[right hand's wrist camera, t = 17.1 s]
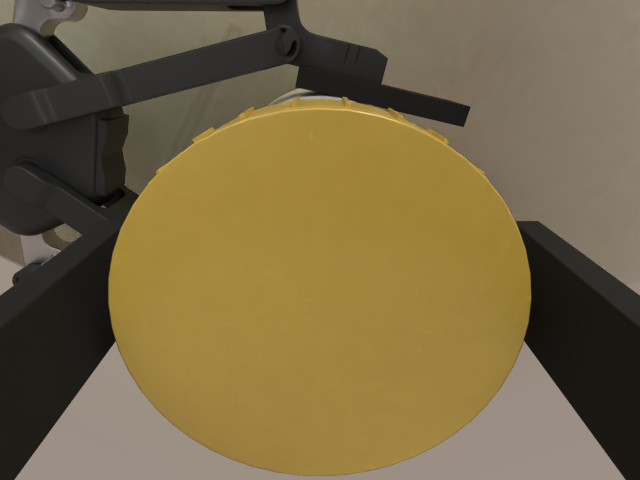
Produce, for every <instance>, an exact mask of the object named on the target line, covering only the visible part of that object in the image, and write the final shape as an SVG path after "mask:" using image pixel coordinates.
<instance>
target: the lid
mask: <svg viewBox="0 0 640 480" xmlns="http://www.w3.org/2000/svg"><path fill="white" fill-rule="evenodd" d="M192 140H193V142H194V144H192V145H191V146H190V147H188V148H187V149H186V150H184V151H183V152H182V153H180V154H179V155H178V156H176V157H175V158H174V159H172V160H171V161H170V162H168V163H167V164H165V165H164V166H162V167H161V168H159V169H158V170H157V171H156V172H155V173H156V174H157V175H156V176H155V177H154V178H153V179H152V180H151V181H150V182H149V183H148V185H147V186H146V187H145V189H144V190H143V192H142V193H141V194H140V196H139V197H138V198H137V200H136V201H135V203H134V204H133V206H132V208H131V210H130V211H129V213H128V215H127V217H126V219H125V221H124V223H123V225H122V227H121V229H120V232H119V235H118V238H117V241H116V245H115V248H114V251H113V254H112V260H111V266H110V272H109V289H108V304H109V311H110V318H111V325H112V329H113V333H114V336H115V339H116V343H117V346H118V349H119V351H120V354H121V356H122V358H123V360H124V362H125V365H126V367H127V369H128V371H129V373H130V374H131V376H132V377H133V379H134V381H135V382H136V384H137V385H138V387H139V388H140V390H141V391H142V392H143V394H144V395H145V396H146V397H147V399H148V400H149V401H150V402H151V403H152V405H153V406H154V407H155V408H156V409H157V410H158V411H159V412H160V413H161V414H162V415H163V416H164V417H165V418H166V419H167V420H168V421H170V422H171V423H172V424H173V425H174V426H175V427H177V428H178V429H179V430H181V431H182V432H183V433H185V434H186V435H187V436H189V437H190V438H192V439H193V440H195V441H197V442H198V443H200V444H202V445H203V446H205V447H207V448H209V449H210V450H212V451H214V452H217V453H219V454H221V455H223V456H225V457H227V458H230V459H232V460H235V461H238V462H241V463H244V464H247V465H250V466H253V467H256V468H260V469H265V470H269V471H273V472H279V473H286V474H293V475H306V476H332V475H347V474H353V473H360V472H366V471H371V470H375V469H379V468H383V467H387V466H390V465H393V464H396V463H399V462H402V461H404V460H407V459H410V458H413V457H414V456H417V455H419V454H421V453H423V452H425V451H427V450H429V449H431V448H433V447H435V446H436V445H438V444H439V443H441V442H443V441H444V440H446V439H448V438H449V437H451V436H452V435H454V434H455V433H456V432H457V431H459V430H460V429H461V428H463V427H464V426H465V425H466V424H468V423H469V422H470V421H471V420H472V419H473V418H474V417H475V416H476V415H477V414H478V413H479V412H480V411H481V410H482V409H483V408H484V407H485V406H486V405H487V404H488V403H489V402H490V400H491V399H492V398H493V397H494V395H495V394H496V393H497V392H498V390H499V389H500V388H501V386H502V385H503V383H504V381H505V380H506V378H507V376H508V375H509V373H510V371H511V370H512V368H513V366H514V364H515V361H516V359H517V357H518V354H519V352H520V350H521V347H522V345H523V341H524V337H525V334H526V330H527V326H528V323H529V314H530V305H531V277H530V269H529V264H528V259H527V253H526V248H525V246H524V243H523V240H522V237H521V235H520V232H519V229H518V226H517V224H516V222H515V220H514V218H513V216H512V215H511V213H510V211H509V209H508V207H507V206H506V204H505V202H504V200H503V199H502V198H501V196H500V195H499V194H498V192H497V191H496V190H495V188H494V187H493V186H492V185H491V183H490V182H489V181H488V179H487V178H486V177H485V175H486V174H485V173H484V172H483V171H482V170H480V169H479V168H477V167H476V166H474V165H473V164H471V163H470V162H469V161H468V160H467V159H466V158H465V157H464V156H462V155H461V154H459V153H458V152H456V151H455V150H454V149H452V148H451V147H449V146H448V145H447V144H448V143H449V140H447V139H446V138H444V137H442V136H441V135H439V134H437V133H436V132H434V131H433V130H431V129H428V130H427V131H426V130H424V129H423V128H421V127H419V126H418V125H416V124H414V123H412V122H410V121H408V120H406V119H404V118H403V116H402V115H400V114H399V113H397V112H396V111H394V110H393V109H391V108H388V109H387V111H385V110H382V109H379V108H376V107H373V106H370V105H365V104H360V103H355V102H350V101H349V100H348V98H347V97H342V100H329V99H309V100H300V97H295V98H294V99H293V101H288V102H284V103H279V104H275V105H270V106H266V107H262V108H260V109H257V110H255V109H254V107H251V108H249V109H248V110H246V111H245V112H243V113H242V114H240V115H239V117H237V118H235V119H233V120H231V121H230V122H228V123H226V124H224V125H222V126H220V127H219V128H217V129H214V128H213V127H212V128H210V129H208V130H207V131H205V132H203V133H202V134H200V135H199V136H197V137H195V138H194V139H192Z"/></svg>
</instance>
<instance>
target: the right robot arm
mask: <svg viewBox="0 0 640 480" xmlns="http://www.w3.org/2000/svg"><path fill="white" fill-rule="evenodd" d="M515 222H516V224H517V226H518V229H519V232H520V235H521V237H522V240H523V243H524V246H525V248H526V253H527V259H528V264H529V269H530V277H531V305H530V314H529V323H528V326H527V330H526V334H525V337H524V341H525V343H526V344H527V345H528V347H529V348H530V349H531V351H532V352H533V353H534V355H535V356H536V358H537V359H538V360H539V362H540V363H541V364H542V366H543V367H544V369H545V370H546V371H547V373H548V374H549V375H550V377H551V378H552V379H553V381H554V382H555V384H556V385H557V386H558V388H559V389H560V390H561V392H562V393H563V395H564V396H565V397H566V399H567V400H568V401H569V403H570V404H571V405H572V407H573V408H574V410H575V411H576V412H577V414H578V415H579V416H580V418H581V419H582V421H583V422H584V423H585V425H586V426H587V427H588V429H589V430H590V431H591V433H592V434H593V436H594V437H595V438H596V440H597V441H598V442H599V444H600V445H601V447H602V448H603V449H604V451H605V452H606V453H607V455H608V456H609V457H610V459H611V460H612V462H613V463H614V464H615V466H616V467H617V468H618V470H619V471H620V473H621V474H622V475H623V477H624V478H625V479H626V480H640V295H638V294H637V293H635V292H634V291H633V290H631V289H630V288H629V287H627V286H626V285H625V284H623V283H622V282H620V281H619V280H618V279H616V278H615V277H614V276H612V275H611V274H609V273H608V272H607V271H605V270H604V269H603V268H601V267H600V266H599V265H597V264H596V263H594V262H593V261H592V260H590V259H589V258H588V257H586V256H585V255H584V254H582V253H581V252H579V251H578V250H577V249H575V248H574V247H573V246H571V245H570V244H569V243H567V242H566V241H564V240H563V239H562V238H560V237H559V236H558V235H556V234H555V233H554V232H552V231H551V230H549V229H548V228H547V227H545V226H544V225H543V224H541V223H540V222H539V221H515ZM123 223H124V221H101V222H100V223H99V224H97V225H96V226H95V227H93V228H92V229H91V230H89V231H88V232H86V233H85V234H84V235H82V236H81V237H80V238H78V239H77V240H76V241H74V242H73V243H71V244H70V245H69V246H67V247H66V248H65V249H63V250H62V251H61V252H59V253H58V254H56V255H55V256H54V257H52V258H51V259H50V260H48V261H47V262H46V263H44V264H43V265H41V266H40V267H39V268H37V269H36V270H35V271H33V272H32V273H30V274H29V275H28V276H26V277H25V278H24V279H22V280H21V281H20V282H18V283H17V284H15V285H14V286H13V287H11V288H10V289H9V290H7V291H6V292H5V293H3V294H2V295H1V296H0V480H14V479H15V478H16V477H17V475H18V474H19V473H20V471H21V470H22V468H23V467H24V466H25V464H26V463H27V462H28V460H29V459H30V457H31V456H32V455H33V453H34V452H35V451H36V449H37V448H38V446H39V445H40V444H41V442H42V441H43V440H44V438H45V437H46V436H47V434H48V433H49V431H50V430H51V429H52V427H53V426H54V425H55V423H56V422H57V420H58V419H59V418H60V416H61V415H62V414H63V412H64V411H65V410H66V408H67V407H68V405H69V404H70V403H71V401H72V400H73V399H74V397H75V396H76V395H77V393H78V392H79V390H80V389H81V388H82V386H83V385H84V384H85V382H86V381H87V379H88V378H89V377H90V375H91V374H92V373H93V371H94V370H95V369H96V367H97V366H98V364H99V363H100V362H101V360H102V359H103V358H104V356H105V355H106V353H107V352H108V351H109V349H110V348H111V347H112V345H113V344H114V343H115V341H116V339H115V336H114V333H113V329H112V325H111V318H110V311H109V304H108V289H109V272H110V266H111V260H112V254H113V251H114V248H115V245H116V241H117V238H118V235H119V232H120V229H121V227H122V225H123Z"/></svg>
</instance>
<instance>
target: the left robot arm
mask: <svg viewBox="0 0 640 480" xmlns="http://www.w3.org/2000/svg"><path fill="white" fill-rule="evenodd" d="M88 5H91V6H95V7H99V8H104V9H109V10H132V11H264V16H265V23H266V29H267V30H266V31H262V32H259V33H255V34H251V35H247V36H244V37H240V38H236V39H232V40H229V41H225V42H221V43H217V44H214V45H210V46H206V47H202V48H198V49H195V50H191V51H187V52H183V53H180V54H176V55H172V56H168V57H165V58H161V59H157V60H153V61H150V62H146V63H142V64H138V65H135V66H131V67H127V68H123V69H119V70H115V71H109V72H104V73H100V74H96V75H94V74H93V73H92V72H91V71H90V70H89V69H88V68H87V67H86V66H85V65H84V64H83V63H82V62H81V61H80V60H79V59H78V58H77V57H76V56H75V55H74V54H73V53H72V52H71V51H70V50H69V49H68V48H67V47H66V46H65V45H64V44H63V43H62V42H61V41H60V40H59V39H58V38H57V37H56V36H55V35H54V31H55V28H56V27H57V25H58V24H60V23H61V22H65V21H67V22H78V21H80V20H82V19H83V18H84V16H85V15H86V13H87V10H88V7H87V6H88ZM387 59H388V58H387V57H385V56H384V55H383V54H381V53H380V52H379V51H378V50H376V49H372V48H368V47H364V46H360V45H356V44H352V43H348V42H344V41H340V40H336V39H332V38H328V37H324V36H320V35H316V34H313V33H310V32H309V31H307V30H306V29H305V28H304V27H303V26H302V24H301V22H300V18H299V10H298V3H297V0H15V7H14V17H13V23H8V24H4V25H1V26H0V224H1V225H3V226H4V227H6V228H7V229H9V230H10V231H12V232H14V233H16V234H19V235H20V241H21V247H22V252H23V258H24V263H25V267H24V268H22V269H21V270H20V271H18V272H17V273H15V274H14V276H13V285H15V284H17V283H18V282H20V281H21V280H22V279H24V278H25V277H26V276H28V275H29V274H30V273H32V272H33V271H35V270H36V269H37V268H39V267H40V266H41V265H43V264H44V263H46V262H47V261H48V260H50V259H51V258H52V257H54V256H55V255H56V254H58V253H59V252H61V251H62V250H63V249H65V248H66V247H67V246H69V245H70V244H71V243H73V242H71V243H70V242H67V241H64V240H62V239H60V238H59V237H58V236H57V235H56V233H55V232H54V228H55V227H57V226H60V225H62V224H64V223H65V224H67V225H69V226H70V227H72V228H73V229H75V230H76V231H78V232H79V233H81V234H82V235H84V234H85V233H86V232H88V231H89V230H91V229H92V228H93V227H95V226H96V225H97V224H99V223H100V222H101V221H125V219H126V217H127V215H128V213H129V211H130V210H131V208H132V206H133V204H134V203H135V201H136V200H137V198H138V197H139V195H137V194H136V193H134V192H133V191H132V190H130V189H129V188H127V187H126V186H124V184H125V170H126V167H125V162H124V158H123V153H122V148H123V145H124V142H125V139H126V136H127V134H128V121H129V115H126V114H124V113H123V109H122V106H126V105H130V104H134V103H137V102H141V101H145V100H149V99H152V98H156V97H160V96H164V95H168V94H172V93H176V92H180V91H183V90H187V89H191V88H195V87H199V86H203V85H207V84H211V83H214V82H218V81H222V80H226V79H230V78H234V77H238V76H242V75H245V74H249V73H253V72H257V71H261V70H265V69H269V68H273V67H276V66H280V65H284V64H291V65H295V66H299V71H298V76H297V82H296V87H297V88H301V89H305V90H310V91H314V92H318V93H322V94H326V95H331V96H335V97H339V98H342V97H347V98H348V100H352V101H356V102H360V103H364V104H369V105H373V106H377V107H381V108H386V109H388V108H391V109H393V110H394V111H398V112H402V113H407V114H411V115H415V116H419V117H424V118H428V119H432V120H436V121H441V122H445V123H449V124H453V125H457V126H462V127H464V125H465V122H466V119H467V116H468V113H469V110H470V107H469V106H466V105H463V104H459V103H456V102H453V101H449V100H445V99H441V98H437V97H433V96H428V95H424V94H420V93H416V92H412V91H408V90H403V89H399V88H395V87H391V86H387V85H383V84H381V82H382V79H383V75H384V71H385V67H386V63H387ZM102 205H104V206H105V207H107V208H101V207H100V206H102Z"/></svg>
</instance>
